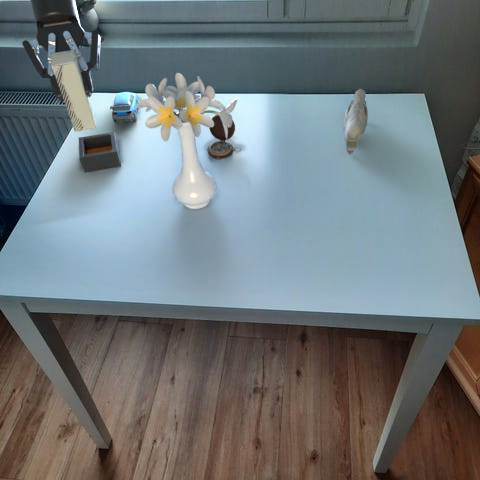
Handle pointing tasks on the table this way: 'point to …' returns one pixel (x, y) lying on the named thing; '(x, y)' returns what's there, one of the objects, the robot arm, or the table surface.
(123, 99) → the toy car
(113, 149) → the holder
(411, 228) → the table surface
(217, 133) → the compass
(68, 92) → the box
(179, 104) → the flower vase
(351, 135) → the decorative bird
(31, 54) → the robot arm
